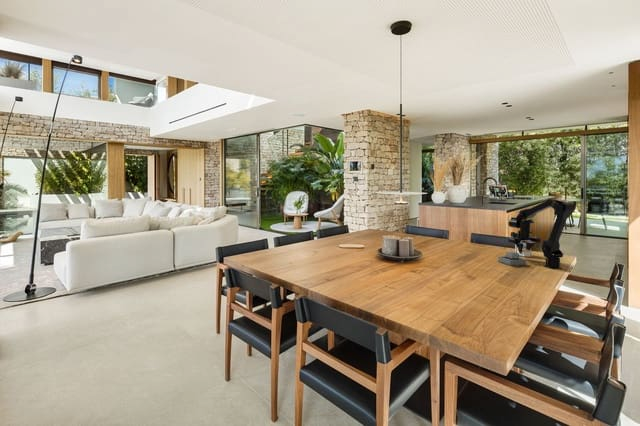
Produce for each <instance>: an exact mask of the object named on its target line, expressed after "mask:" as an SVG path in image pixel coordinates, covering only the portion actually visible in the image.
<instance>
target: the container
mask: <svg viewBox="0 0 640 426" xmlns="http://www.w3.org/2000/svg"><path fill="white" fill-rule="evenodd" d="M518 239H519V238H518ZM522 244H524V245H523V249H526V243H525V242H522ZM517 249H518V248H517V245H516V244H515V250H514V252H515V253H517ZM530 250H531V251H532V248H531V249H530ZM519 257H525V258H526V257H527V258H531V257H532V252H531V253H530V256H522V255H519Z"/></svg>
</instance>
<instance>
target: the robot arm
mask: <svg viewBox="0 0 640 426" xmlns="http://www.w3.org/2000/svg"><path fill="white" fill-rule="evenodd" d="M550 208H552V209H553V210H555V216H556V218H555V221H554V224H553V227H552V228H551V229H552V230H551V232H550V234H549V238H548V239H547V240H543V242H542V245H541V251H542V253H543V257H544V258H545V265H543V267H545V268H549V269H552V270H557V269H563V267H562V266H560V264H561V263H560V262H561V258H563V257H564V253H563V251H561V249H560V248H561V245H560V239H561V236H562V233H563V230H564V228H565V225H566V222H567V220H568V219H569V217H570V216H571V215H573V213H574V211H575V209H576V206H575V205H574V204H573V203H572V202H570V201H569V202H566V201H562V200H559V199H555V198H549V199H547V200H544V201H543V202H541V203H539V204H536V205H535V206H533V207H531V208H525V209H521V210H519V212H518V214H517V216H516V217H514V216H512V217H511V218H510V219H509V221H508V223H507V224H508V226H509V227H510V228H512V229H513V228H515V229H519V230H517V232H515V231H511V232H510V237H509V238H508V243H511V244H515V246H516V245H517V248H518V250H519V253H520V254H521V253H522V249H523V245H524V244H522V242H525V243H526V249H527V250H530V249H531V250H532V248H533V247H534V245H536V244H540V243H541V238H540V237H536V236H531V234H532V233H533V232H532V231H531V225H532V224H535V221H534V220H532V218H534V217H535V216H536V215H537V214H539V213H540V212H543V211H546V210H547V209H550ZM518 238H519V239H518Z"/></svg>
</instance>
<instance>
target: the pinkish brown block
mask: <svg viewBox="0 0 640 426" xmlns="http://www.w3.org/2000/svg"><path fill="white" fill-rule="evenodd" d="M517 253H519V250H518V249H517ZM530 253H531V254H532V249H531V250H527V249H522V253H521V254H520V253H519V255H522V256H521V257H524V256H530Z"/></svg>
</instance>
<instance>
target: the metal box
mask: <svg viewBox="0 0 640 426" xmlns="http://www.w3.org/2000/svg"><path fill="white" fill-rule="evenodd" d="M505 256H506V259H509V260H519V258H520V256H519V253H515V251H506V252H505Z"/></svg>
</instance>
